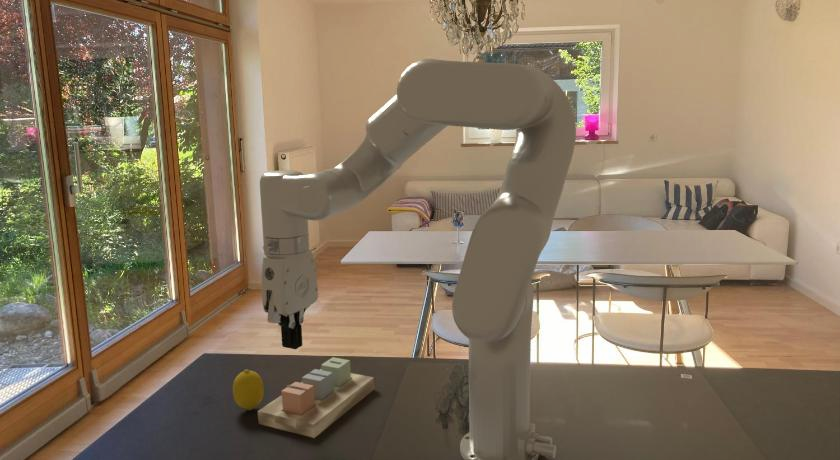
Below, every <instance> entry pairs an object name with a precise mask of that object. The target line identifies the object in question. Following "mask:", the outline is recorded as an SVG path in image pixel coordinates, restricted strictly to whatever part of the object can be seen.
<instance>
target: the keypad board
mask: <svg viewBox="0 0 840 460" xmlns="http://www.w3.org/2000/svg"><path fill="white" fill-rule="evenodd" d="M319 370H321V368H320V369H319ZM300 383H302V381H301V382H300ZM333 388H334V392H333V393H332V394H330V395H329V396H328V397H326V398H325V399H324V400H322V401H320V400H315V399H314V400H315V406H314V407H313V408H311V409H310V410H309V411H307V412H306V413H305V414H303V415H302V416H300V415H296V414H292V413H288V412H284V411H283V405H282V394H281V395H279V396H278V397H277V398H275V399H274V400H272V401H271V402H269V403H268V404H265V406H263V407H261V408H259V409H258V410H257V420H258V425H260V426H261V425H262V426H265V427H270V428H272V429H278V430H281V431H284V432H289V433H293V434H295V435H296V434H297V435H301V436H304V437H308V438H311V439H315V438H316V437H317V436H319V435H320V434H322V433H323V432H324V431H325V430H326V429H328V428H329V427H330V426H331V425H333V423H335V422H337V420H338V419H340V418H341V417H342V416H343V415H345V414H346V413H347V412H348V411H350V410H351V409H352V408H353V407H354V406H356V405H357V404H358V403H359V402H361V401H362V400H363V399H364V398H366V396H369V394H370V393H372V392H373V391H374V390H375V378H374V377H373V376H370V375H369V376H368V375H363V374H358V373H353V372H351V380H349V381H348V382H347V383H345V384H344V385H343V386H341V387H336V386H333Z"/></svg>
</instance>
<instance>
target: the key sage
mask: <svg viewBox="0 0 840 460" xmlns="http://www.w3.org/2000/svg"><path fill="white" fill-rule="evenodd" d="M320 369H321V370H323V371H328V372H333V386H336V387H341V386H343V385H344V384H345V383H347V382H348V381H349V380H351V373H352V372H351V371H352V370H351V360H350V359H345V358H340V357H334V356H332V357H331V358H330V359H328V360H326V361H325V362H323V363H322V364H321V365H320Z"/></svg>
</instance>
